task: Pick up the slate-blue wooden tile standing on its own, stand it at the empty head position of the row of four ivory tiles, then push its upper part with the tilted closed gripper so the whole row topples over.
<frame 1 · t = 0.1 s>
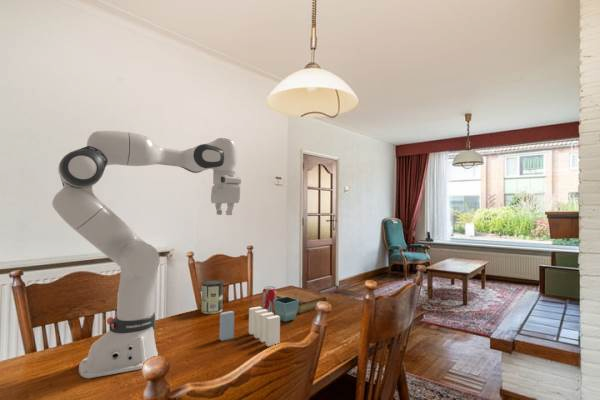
hand: (224, 214, 127), 48 cm above the table, tool pointing down, fingers open, 8 cm apart
tile 1: (255, 332, 132), on the table
tile 4: (272, 344, 121), on the table
tile 2: (260, 336, 128), on the table
tile 3: (266, 340, 124), on the table
soda can: (269, 312, 158), on the table
flower pot: (285, 319, 148), on the table
diary: (298, 306, 170), on the table
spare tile: (226, 338, 125), on the table
coffee can: (211, 311, 159), on the table
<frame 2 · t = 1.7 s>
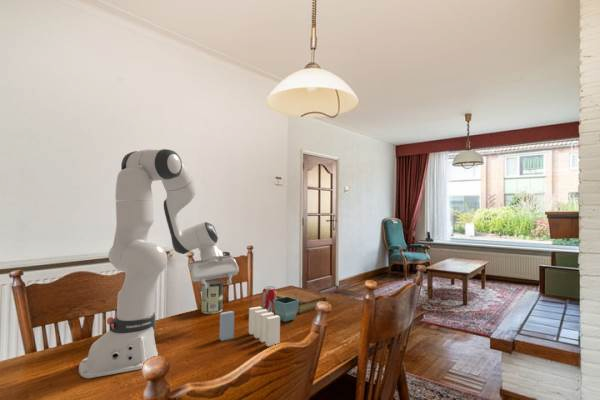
hand: (219, 286, 136), 18 cm above the table, tool tilted 45°, fingers open, 8 cm apart
nothing on the table moved.
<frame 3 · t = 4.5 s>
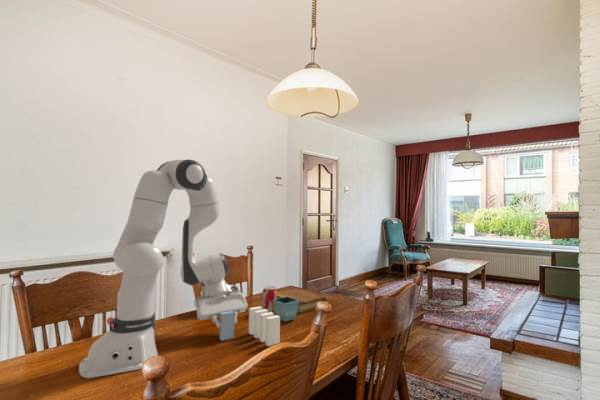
hand: (227, 324, 125), 5 cm above the table, tool tilted 45°, fingers closed on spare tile, 5 cm apart
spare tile: (226, 338, 125), on the table, touching gripper
everything else where it was.
when the fingers open (6 cm above the table, at t = 10.0 s): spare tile drops 1 cm, on the table.
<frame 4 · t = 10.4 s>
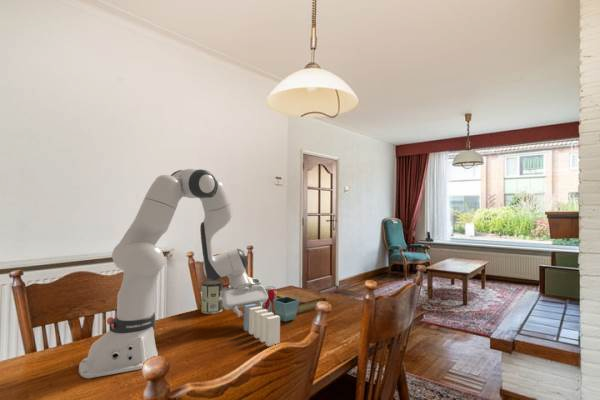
hand: (251, 314, 135), 6 cm above the table, tool tilted 45°, fingers open, 8 cm apart
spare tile: (250, 329, 135), on the table
everything else where it was.
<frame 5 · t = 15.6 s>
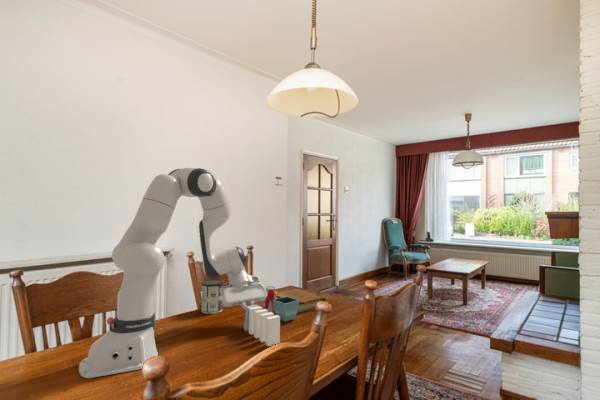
hand: (250, 311, 135), 7 cm above the table, tool tilted 45°, fingers closed
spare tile: (250, 328, 135), on the table, tilted 12°
everything else where it was.
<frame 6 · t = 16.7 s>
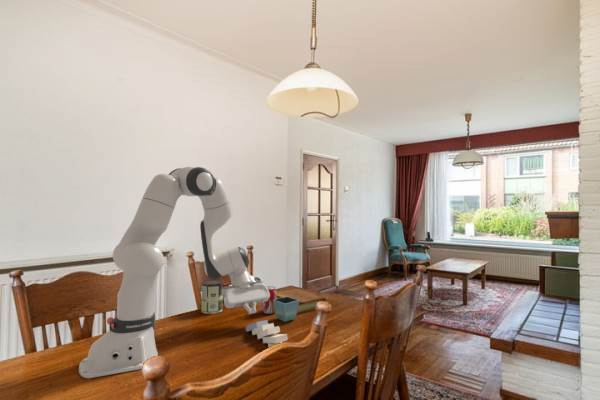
hand: (252, 312, 134), 7 cm above the table, tool tilted 45°, fingers closed
tile 1: (257, 331, 130), point 1 cm above the table, tilted 63°, touching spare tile
tile 4: (274, 344, 120), on the table, tilted 90°, touching tile 3
tile 2: (263, 335, 127), point 1 cm above the table, tilted 61°, touching tile 3
tile 3: (268, 338, 123), point 1 cm above the table, tilted 71°, touching tile 2, tile 4
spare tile: (251, 328, 134), point 1 cm above the table, tilted 64°, touching tile 1
everything else where it was.
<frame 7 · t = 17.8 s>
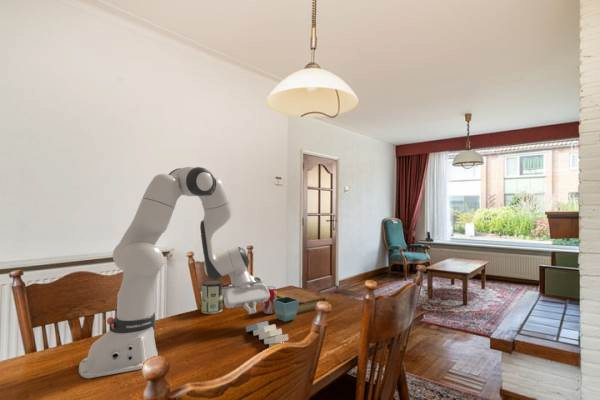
hand: (252, 312, 134), 7 cm above the table, tool tilted 45°, fingers closed
tile 4: (275, 345, 119), on the table, tilted 90°
tile 2: (264, 335, 126), point 1 cm above the table, tilted 65°, touching tile 3
tile 3: (270, 340, 122), point 1 cm above the table, tilted 68°, touching tile 2
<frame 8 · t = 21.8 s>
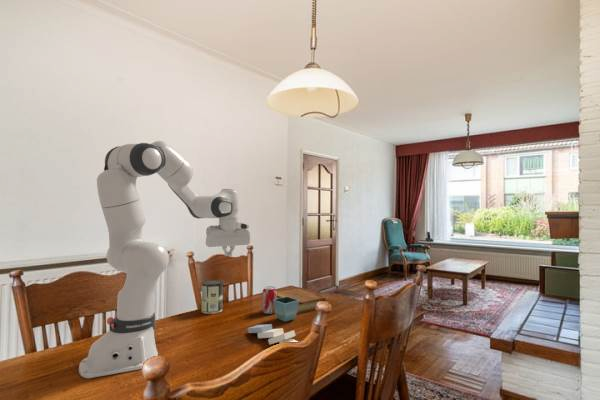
hand: (228, 255, 145), 29 cm above the table, tool pointing down, fingers closed
tile 1: (262, 334, 128), point 1 cm above the table, tilted 71°, touching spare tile, tile 2
tile 4: (283, 348, 116), on the table, tilted 90°
tile 2: (273, 340, 122), point 1 cm above the table, tilted 62°, touching tile 1
tile 3: (284, 342, 117), point 2 cm above the table, tilted 90°
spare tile: (253, 329, 133), point 1 cm above the table, tilted 72°, touching tile 1
everything else where it was.
at the end: tile 4 tilted 90°; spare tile tilted 72°; the gripper is holding nothing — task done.
